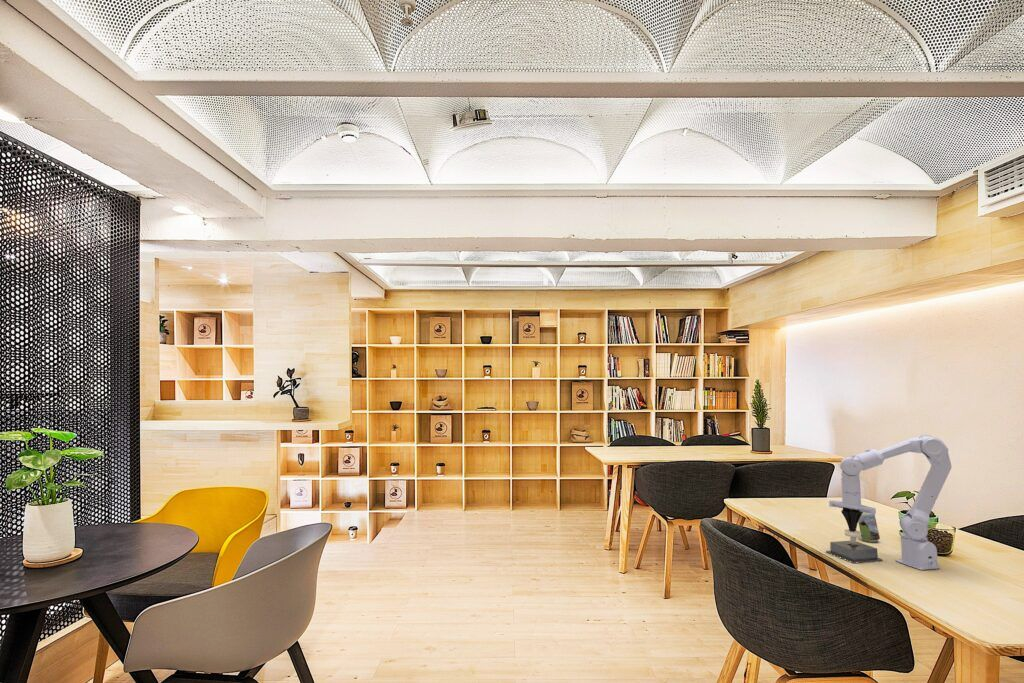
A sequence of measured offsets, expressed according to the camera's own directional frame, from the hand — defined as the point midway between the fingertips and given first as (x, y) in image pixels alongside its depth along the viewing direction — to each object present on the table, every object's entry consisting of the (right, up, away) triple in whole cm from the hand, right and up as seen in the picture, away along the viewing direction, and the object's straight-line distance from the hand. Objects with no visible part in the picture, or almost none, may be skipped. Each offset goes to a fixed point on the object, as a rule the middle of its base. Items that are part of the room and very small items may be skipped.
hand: (852, 530), depth 193 cm
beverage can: (+18, -11, +19) cm, 28 cm away
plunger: (0, -5, 0) cm, 5 cm away
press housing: (0, -9, -1) cm, 9 cm away
